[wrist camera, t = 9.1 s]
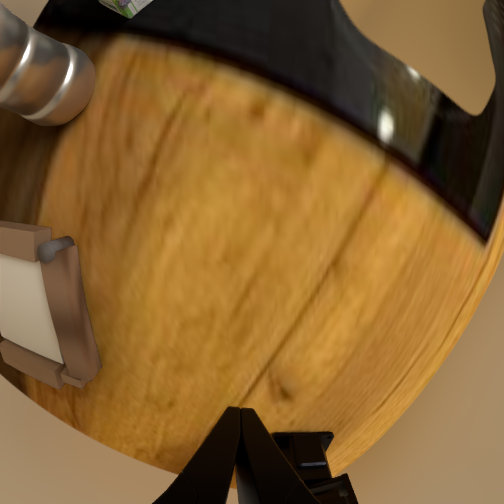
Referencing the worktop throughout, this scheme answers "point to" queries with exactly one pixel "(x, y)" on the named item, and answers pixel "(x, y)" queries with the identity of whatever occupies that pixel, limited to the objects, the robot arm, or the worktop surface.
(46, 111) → the silver metal bottle
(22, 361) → the seat
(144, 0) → the syrup box
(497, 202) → the worktop surface
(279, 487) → the robot arm
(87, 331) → the leg
